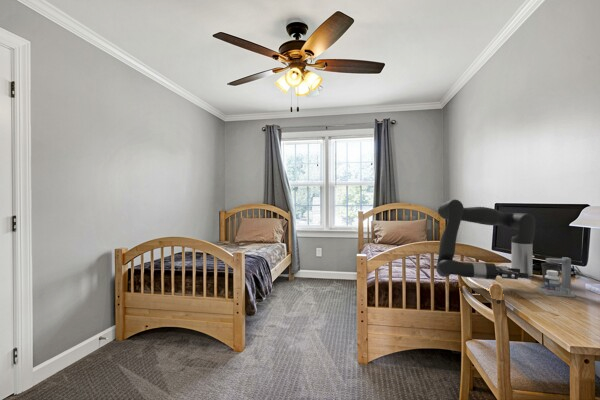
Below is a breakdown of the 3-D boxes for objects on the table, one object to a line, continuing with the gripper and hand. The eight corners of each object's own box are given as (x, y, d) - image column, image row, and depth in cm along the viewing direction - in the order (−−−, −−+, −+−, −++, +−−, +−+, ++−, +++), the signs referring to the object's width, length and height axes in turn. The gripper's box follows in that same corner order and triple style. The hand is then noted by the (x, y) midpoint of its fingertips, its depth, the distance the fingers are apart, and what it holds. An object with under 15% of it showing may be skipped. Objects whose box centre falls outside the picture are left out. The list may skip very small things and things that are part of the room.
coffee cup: (566, 285, 145) (566, 264, 144) (548, 285, 145) (549, 264, 145) (552, 281, 153) (552, 261, 152) (535, 281, 153) (536, 261, 153)
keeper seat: (536, 288, 141) (536, 254, 141) (562, 290, 138) (563, 255, 138) (547, 295, 132) (547, 259, 131) (575, 297, 129) (575, 260, 128)
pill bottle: (543, 288, 139) (543, 269, 139) (558, 290, 136) (558, 270, 136) (545, 291, 134) (545, 271, 134) (561, 293, 132) (561, 273, 131)
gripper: (487, 266, 136) (530, 268, 131) (479, 259, 150) (517, 261, 145) (487, 283, 136) (530, 286, 131) (479, 274, 150) (517, 277, 145)
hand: (523, 273), depth 138 cm, fingers open, 8 cm apart
